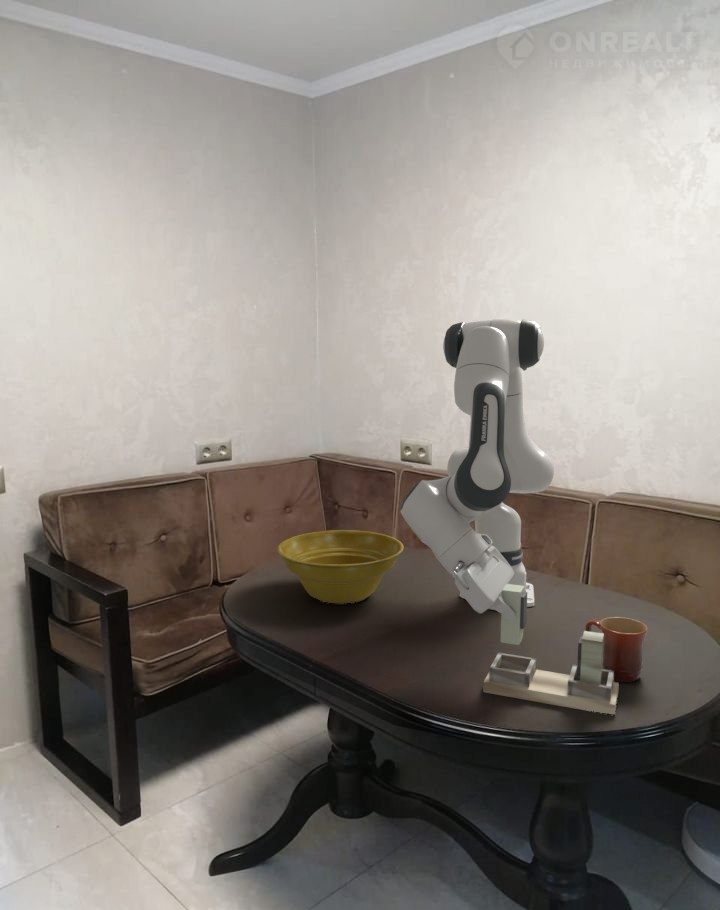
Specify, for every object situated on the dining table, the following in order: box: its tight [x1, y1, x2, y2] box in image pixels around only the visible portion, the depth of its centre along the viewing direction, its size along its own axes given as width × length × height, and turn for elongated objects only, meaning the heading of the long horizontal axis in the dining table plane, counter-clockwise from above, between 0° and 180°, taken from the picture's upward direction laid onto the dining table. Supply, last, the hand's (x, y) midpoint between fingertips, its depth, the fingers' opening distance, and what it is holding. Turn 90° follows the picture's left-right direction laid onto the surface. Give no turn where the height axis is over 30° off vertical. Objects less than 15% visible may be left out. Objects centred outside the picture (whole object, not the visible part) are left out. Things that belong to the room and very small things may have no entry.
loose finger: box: [500, 584, 528, 646], centre depth 134 cm, size 4×4×10 cm
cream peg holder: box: [482, 630, 620, 715], centre depth 132 cm, size 9×23×12 cm, turn 67°
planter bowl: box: [276, 529, 405, 605], centre depth 186 cm, size 32×32×13 cm
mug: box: [584, 616, 649, 683], centre depth 140 cm, size 12×9×10 cm
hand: (516, 612), depth 134 cm, fingers closed on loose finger, 4 cm apart
